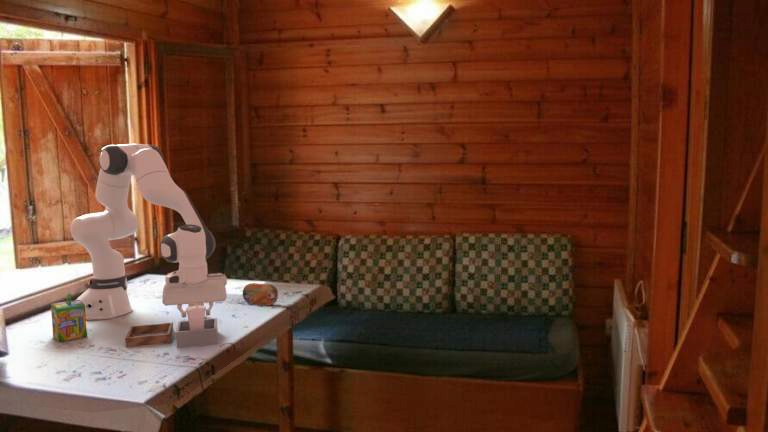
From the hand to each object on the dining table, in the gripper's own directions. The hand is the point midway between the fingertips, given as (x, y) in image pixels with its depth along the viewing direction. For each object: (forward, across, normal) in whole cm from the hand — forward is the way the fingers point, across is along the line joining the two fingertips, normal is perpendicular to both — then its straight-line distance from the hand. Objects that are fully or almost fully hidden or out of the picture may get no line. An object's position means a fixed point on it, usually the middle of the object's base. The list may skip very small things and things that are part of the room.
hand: (196, 316), depth 216 cm
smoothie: (+7, 0, 0) cm, 7 cm away
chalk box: (+8, +42, -17) cm, 46 cm away
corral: (+8, +15, -6) cm, 18 cm away
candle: (+8, +1, -28) cm, 29 cm away
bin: (+8, 0, 0) cm, 8 cm away
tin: (+8, -23, -39) cm, 46 cm away
